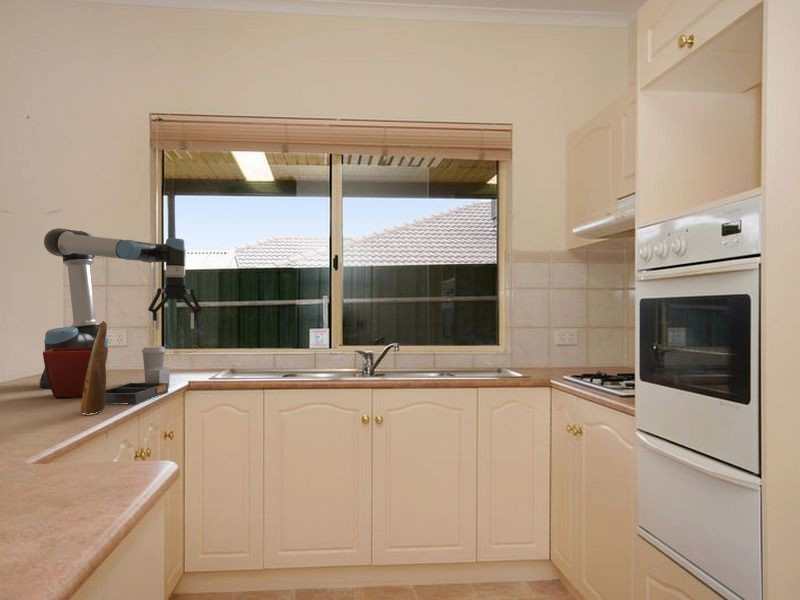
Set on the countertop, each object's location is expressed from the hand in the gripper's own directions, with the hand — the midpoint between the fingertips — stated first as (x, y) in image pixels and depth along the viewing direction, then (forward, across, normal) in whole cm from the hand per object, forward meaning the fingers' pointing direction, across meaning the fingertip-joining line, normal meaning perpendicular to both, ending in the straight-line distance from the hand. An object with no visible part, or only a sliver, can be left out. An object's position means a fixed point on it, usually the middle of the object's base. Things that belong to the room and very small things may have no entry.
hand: (174, 329), depth 249 cm
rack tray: (+23, -18, -26) cm, 39 cm away
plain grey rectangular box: (+23, -7, -6) cm, 25 cm away
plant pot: (+24, -36, -10) cm, 44 cm away
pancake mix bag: (+23, -32, -50) cm, 63 cm away
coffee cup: (+23, -6, +16) cm, 29 cm away
